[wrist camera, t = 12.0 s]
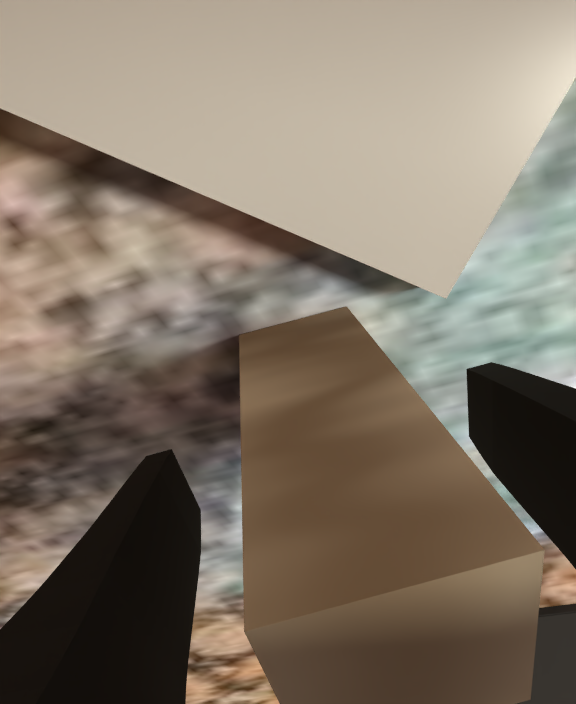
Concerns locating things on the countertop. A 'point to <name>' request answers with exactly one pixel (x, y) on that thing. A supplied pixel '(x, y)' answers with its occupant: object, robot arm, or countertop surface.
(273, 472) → the tall stone pillar
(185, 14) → the switch panel
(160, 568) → the robot arm
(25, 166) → the countertop surface
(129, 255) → the countertop surface
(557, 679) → the phone
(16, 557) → the countertop surface
